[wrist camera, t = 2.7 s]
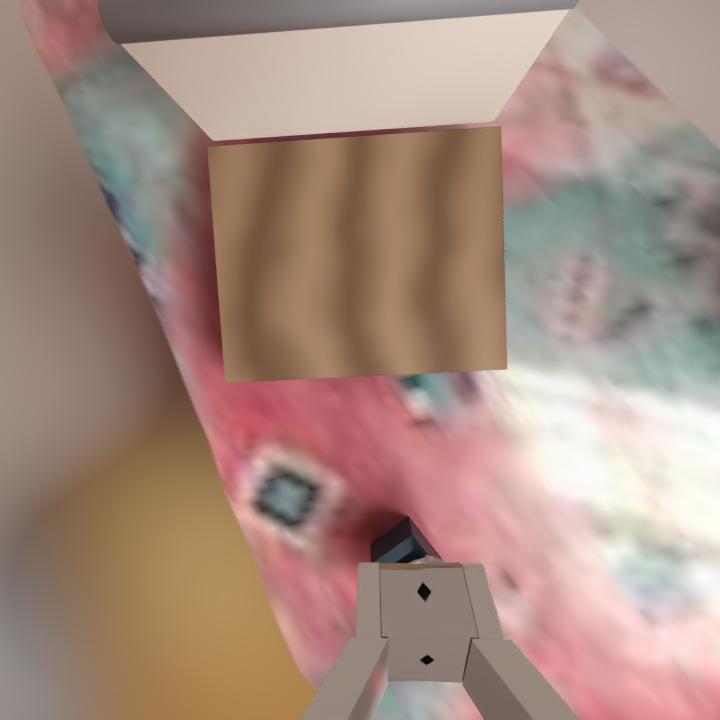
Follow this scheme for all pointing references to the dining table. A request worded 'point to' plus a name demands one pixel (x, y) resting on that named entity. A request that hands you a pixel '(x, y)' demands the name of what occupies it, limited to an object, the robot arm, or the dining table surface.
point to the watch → (404, 546)
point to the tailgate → (334, 60)
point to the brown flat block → (360, 255)
